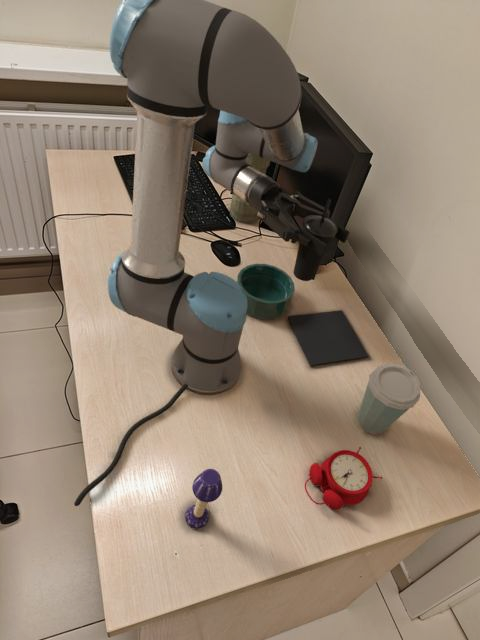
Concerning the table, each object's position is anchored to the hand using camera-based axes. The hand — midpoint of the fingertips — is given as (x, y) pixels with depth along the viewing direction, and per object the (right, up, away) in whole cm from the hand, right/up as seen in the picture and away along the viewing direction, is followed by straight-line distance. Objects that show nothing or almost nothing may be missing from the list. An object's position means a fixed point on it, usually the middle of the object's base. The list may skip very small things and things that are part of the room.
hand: (335, 243), depth 98 cm
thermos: (-22, +19, +46) cm, 54 cm away
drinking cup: (-6, -5, +11) cm, 13 cm away
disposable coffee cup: (+8, -38, +4) cm, 39 cm away
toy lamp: (-27, -52, -17) cm, 61 cm away
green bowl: (-16, -9, +23) cm, 29 cm away
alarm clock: (-1, -49, -7) cm, 49 cm away
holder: (+1, -19, +18) cm, 27 cm away
